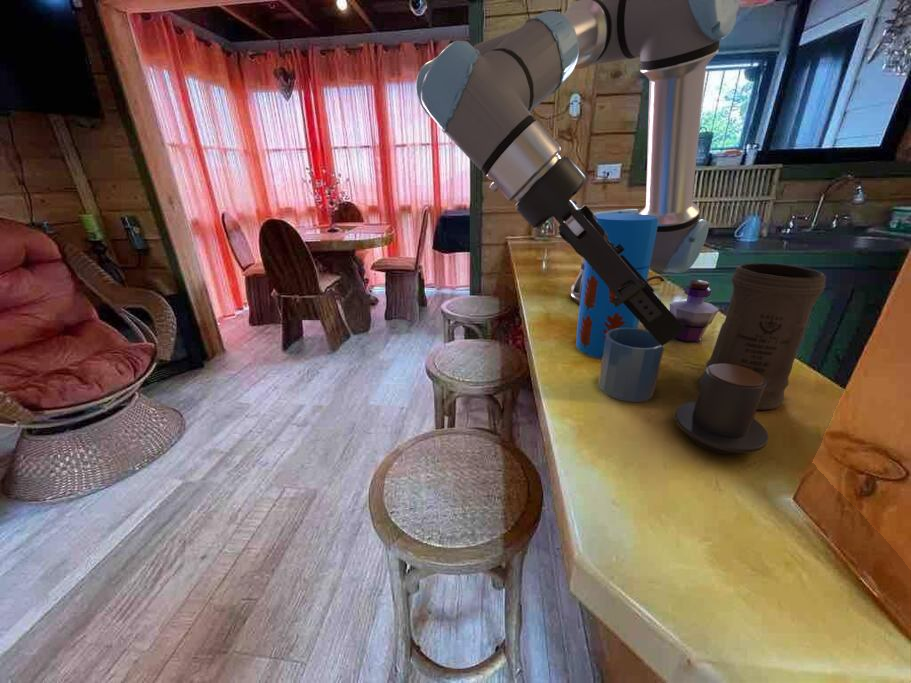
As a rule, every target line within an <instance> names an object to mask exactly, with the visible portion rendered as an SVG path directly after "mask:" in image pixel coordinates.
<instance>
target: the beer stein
mask: <svg viewBox="0 0 911 683" xmlns="http://www.w3.org/2000/svg"><path fill="white" fill-rule="evenodd" d="M826 280H827V275H826V273H825V272H821V271H820V270H816V269H812V268H809V267H803V266H797V265H789V264H781V263H768V262H767V263H765V262H762V263H761V262H755V263H753V262H752V263H743V264H740V265H738V266H736V269H735V271H734V273H733V274H732V277H731V283H732V286H733V290H732V292H731V296H730V300H729V304H728V307H727V311H726V316H725V319H724V321H723V323H722V324H721V326H720V330H719V332H718V335H717V338H716V342H715V344H714V347H713V350H712V352H711V355H710V357H709V359H708V360H707V361H706V363H705V369H704V371H703V372H702V375H701V376H700V378H699V385H700V386H701V385H702V381H703V378H704V374H705V371H706V368H707V367H708V366H710V365H713V364H721V363H724V364H733V365H738V366H742V367H745V368H748V369H751V370H753V371H755V372H757V373H758V374H760V375H761V376H762V377H763V378H764V379H765V380H766V386H765V389H764V391H763V394H762V397H761V399H760V402H759V405H758V407H757V411H759V410H760V411H761V410H762V411H764V410H765V411H767V410H775V409H777V408H779V407H781V406H782V404H783V402H784V397H785V396H784V395H785V390H786V388H788V386H789V384H790V382H789V378H790V377H789V376H790V374H791V372H792V369H793V365H794V361H795V359H796V356H797V353H798V350H799V348H800V345H801V343H802V340H803V338H804V334H805V331H806V329H807V326H808V322H809V319H810V316H811V313H812V310H813V308H814V306H815V304H816V302H817V301H818V299H819V298H820V296H821V294H822V293H823V292H824V291H825V289H826Z"/></svg>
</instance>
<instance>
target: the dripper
mask: <svg viewBox="0 0 911 683" xmlns="http://www.w3.org/2000/svg"><path fill="white" fill-rule="evenodd" d="M705 369H706V371H705V370H704V371H705V374H704V378H703V381H702V385H700V387H699V388H700V389H699V392H698V395H697V398H696V401H695V400H692V401H687V402H683V403H681V404H680V405H678V406H677V407H676V409H675V411H674V420H675V423H676V424H677V426H678V427H679V428H680V429H681V430H682V431H683V432H685V434H687V435H688V436H689V438H690V440H691V441H693V442H694V443H695V444H697V445H698V446H699V447H701V448H703V449H705V450H708V451H710V452H713V453H717V454H722V455H735V454H738V453H743V454H746V453H755V452H759V451H760V450H763V449H764V448H765V447H766V446H767V444H768V441H769V434H768V431H767V429H766V428H765V427H764V425H762V423H761V422H759V421H758V420H757V419H755V415H756V412H757V411H758V409H757V407H758V405H759V402H760V399H761V397H762V394H763V391H764V389H765V386H766V380H765V379H764V378H763V377H762V376H761V375H760V374H758V373H757V372H755V371H753V370H751V369H748V368H745V367H742V366H738V365H733V364H724V363H721V364H713V365H710V366H708V367H707V368H706V367H705Z"/></svg>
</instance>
